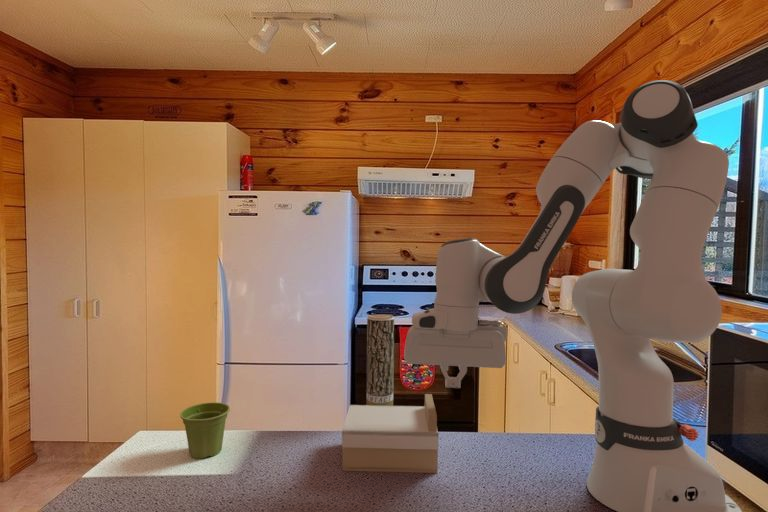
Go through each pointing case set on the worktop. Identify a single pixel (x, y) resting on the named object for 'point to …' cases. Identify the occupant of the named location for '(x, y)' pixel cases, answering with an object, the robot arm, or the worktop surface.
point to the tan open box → (390, 460)
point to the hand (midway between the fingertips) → (452, 387)
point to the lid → (391, 426)
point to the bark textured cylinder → (380, 359)
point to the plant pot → (205, 428)
